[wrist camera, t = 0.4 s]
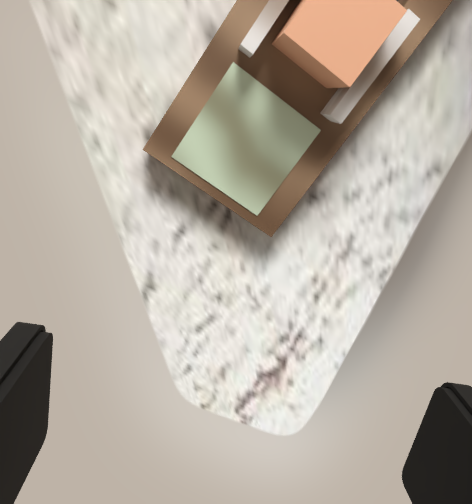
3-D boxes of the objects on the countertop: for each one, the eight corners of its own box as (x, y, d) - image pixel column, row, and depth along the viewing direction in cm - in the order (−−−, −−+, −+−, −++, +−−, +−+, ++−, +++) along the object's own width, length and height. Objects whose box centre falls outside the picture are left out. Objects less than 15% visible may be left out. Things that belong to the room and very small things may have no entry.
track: (357, -186, 29) (391, -253, 23) (483, -59, 32) (540, -92, 26) (148, 145, 36) (135, 155, 30) (267, 226, 38) (276, 249, 33)
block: (316, -23, 29) (339, -51, 24) (371, 25, 31) (407, 10, 25) (271, 43, 31) (283, 32, 25) (326, 88, 32) (350, 87, 26)
